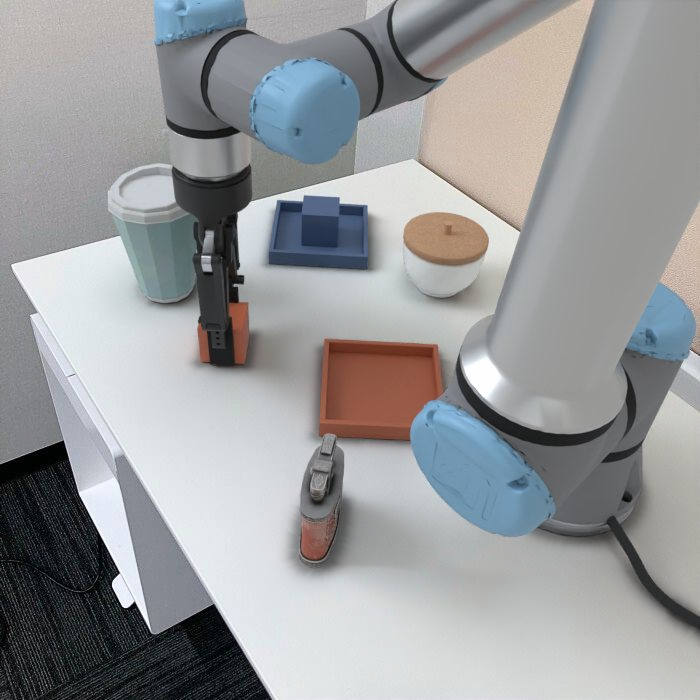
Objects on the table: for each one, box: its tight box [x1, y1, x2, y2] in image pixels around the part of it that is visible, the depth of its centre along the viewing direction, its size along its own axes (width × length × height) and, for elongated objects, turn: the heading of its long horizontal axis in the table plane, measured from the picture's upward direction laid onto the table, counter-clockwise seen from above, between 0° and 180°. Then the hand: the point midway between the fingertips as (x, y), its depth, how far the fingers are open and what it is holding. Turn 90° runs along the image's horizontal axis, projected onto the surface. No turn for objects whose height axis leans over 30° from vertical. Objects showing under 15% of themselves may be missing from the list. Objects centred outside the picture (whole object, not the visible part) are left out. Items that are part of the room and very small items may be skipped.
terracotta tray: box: [318, 338, 444, 441], centre depth 81 cm, size 13×13×2 cm
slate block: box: [301, 194, 341, 247], centre depth 102 cm, size 5×5×5 cm
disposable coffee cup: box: [107, 162, 198, 304], centre depth 89 cm, size 11×11×15 cm
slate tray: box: [268, 199, 369, 270], centre depth 103 cm, size 13×13×2 cm
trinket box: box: [402, 211, 490, 299], centre depth 95 cm, size 11×11×9 cm
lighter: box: [298, 434, 345, 568], centre depth 65 cm, size 8×3×10 cm, turn 170°
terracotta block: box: [196, 301, 251, 365], centre depth 84 cm, size 5×5×5 cm
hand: (225, 346), depth 86 cm, fingers closed on terracotta block, 5 cm apart
